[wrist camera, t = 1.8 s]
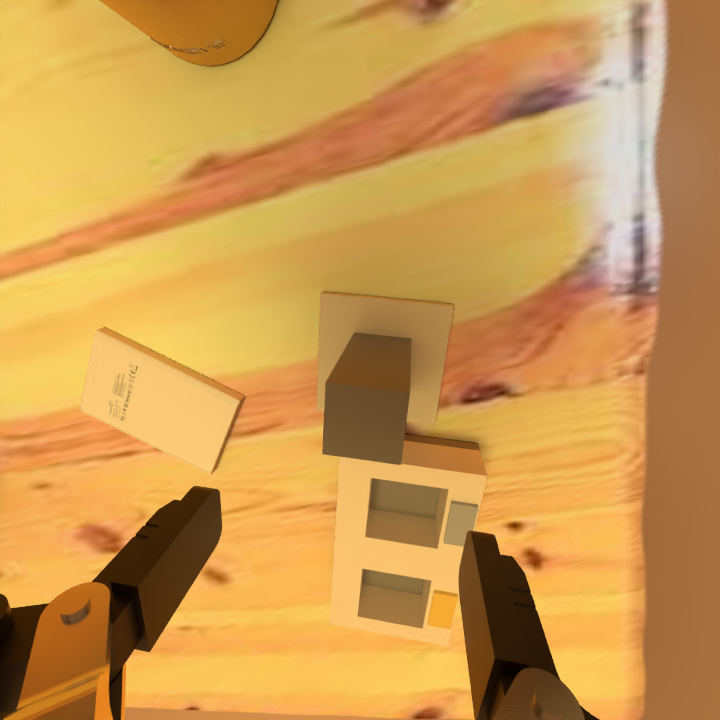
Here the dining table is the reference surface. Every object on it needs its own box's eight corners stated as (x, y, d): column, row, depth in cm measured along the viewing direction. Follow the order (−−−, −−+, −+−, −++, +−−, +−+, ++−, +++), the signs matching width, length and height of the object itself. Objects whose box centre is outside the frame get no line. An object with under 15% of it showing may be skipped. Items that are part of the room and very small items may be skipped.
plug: (354, 332, 26) (325, 382, 17) (411, 338, 25) (410, 392, 17) (350, 384, 27) (322, 454, 19) (404, 391, 27) (400, 465, 18)
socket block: (349, 426, 29) (339, 457, 25) (477, 443, 28) (488, 478, 24) (338, 581, 35) (329, 627, 31) (444, 600, 34) (448, 650, 30)
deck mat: (323, 291, 26) (320, 293, 25) (452, 303, 25) (453, 306, 24) (319, 405, 29) (316, 410, 28) (434, 420, 28) (434, 425, 27)
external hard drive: (219, 465, 33) (92, 404, 33) (248, 393, 30) (109, 325, 30) (210, 476, 32) (77, 413, 31) (239, 401, 29) (93, 330, 28)
